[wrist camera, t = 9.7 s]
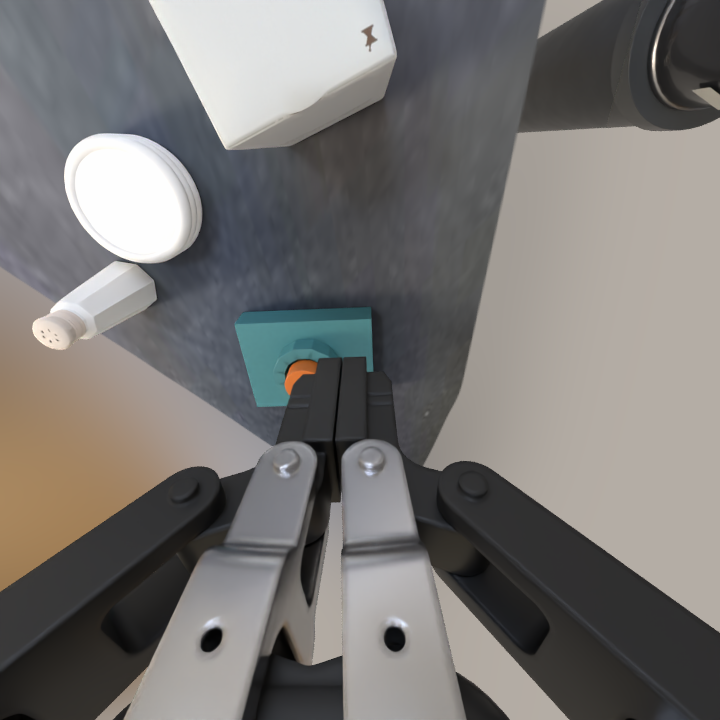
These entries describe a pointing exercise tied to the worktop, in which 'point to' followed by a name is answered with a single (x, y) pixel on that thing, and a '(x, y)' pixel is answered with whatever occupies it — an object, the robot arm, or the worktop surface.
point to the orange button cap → (299, 372)
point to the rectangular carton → (280, 63)
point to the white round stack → (133, 197)
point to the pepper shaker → (97, 305)
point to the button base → (299, 344)
